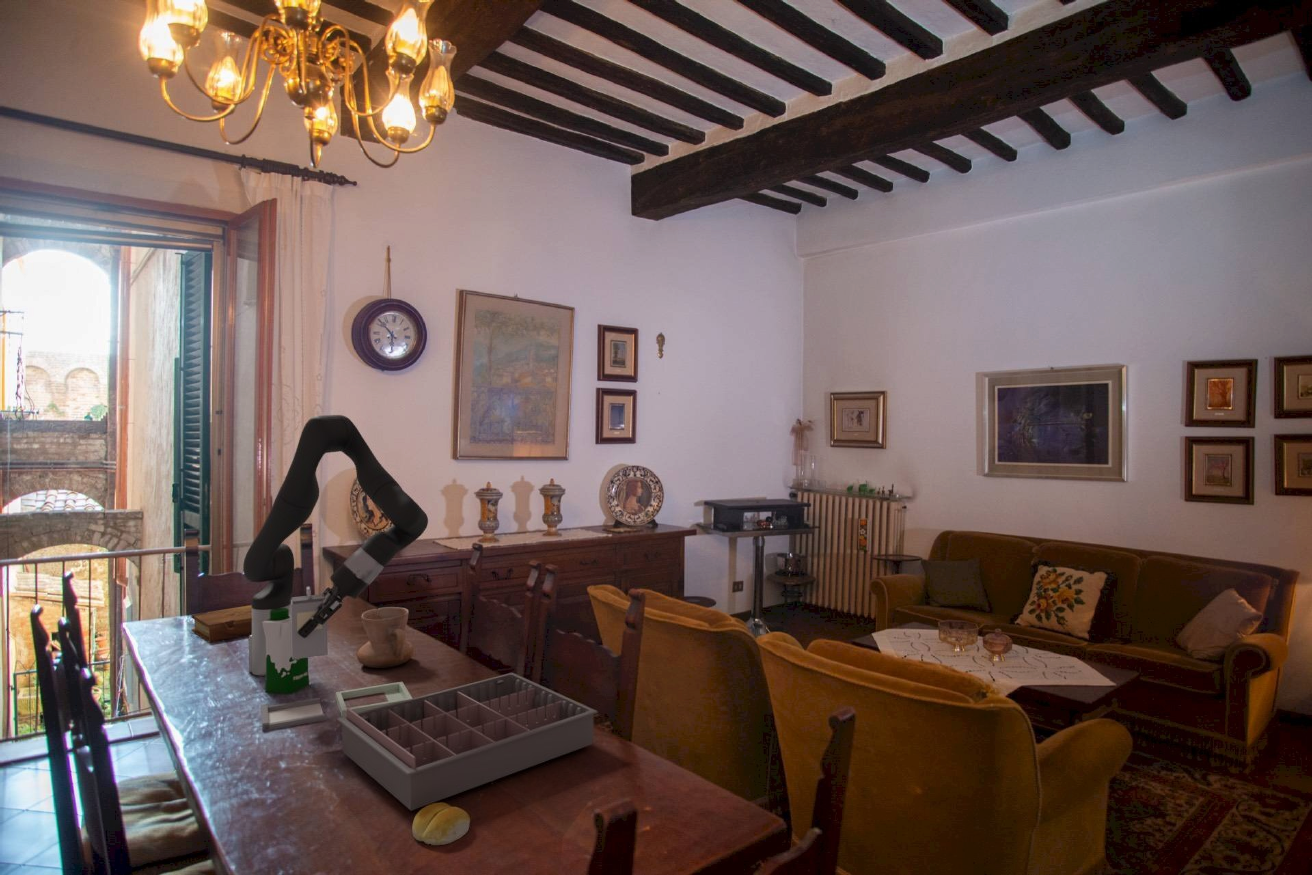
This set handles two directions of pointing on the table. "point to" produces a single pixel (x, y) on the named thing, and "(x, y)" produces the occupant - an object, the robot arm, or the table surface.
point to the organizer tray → (464, 736)
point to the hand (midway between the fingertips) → (300, 631)
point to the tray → (391, 691)
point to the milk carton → (282, 656)
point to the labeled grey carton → (299, 616)
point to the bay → (291, 714)
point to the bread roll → (440, 824)
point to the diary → (223, 623)
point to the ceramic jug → (385, 638)
